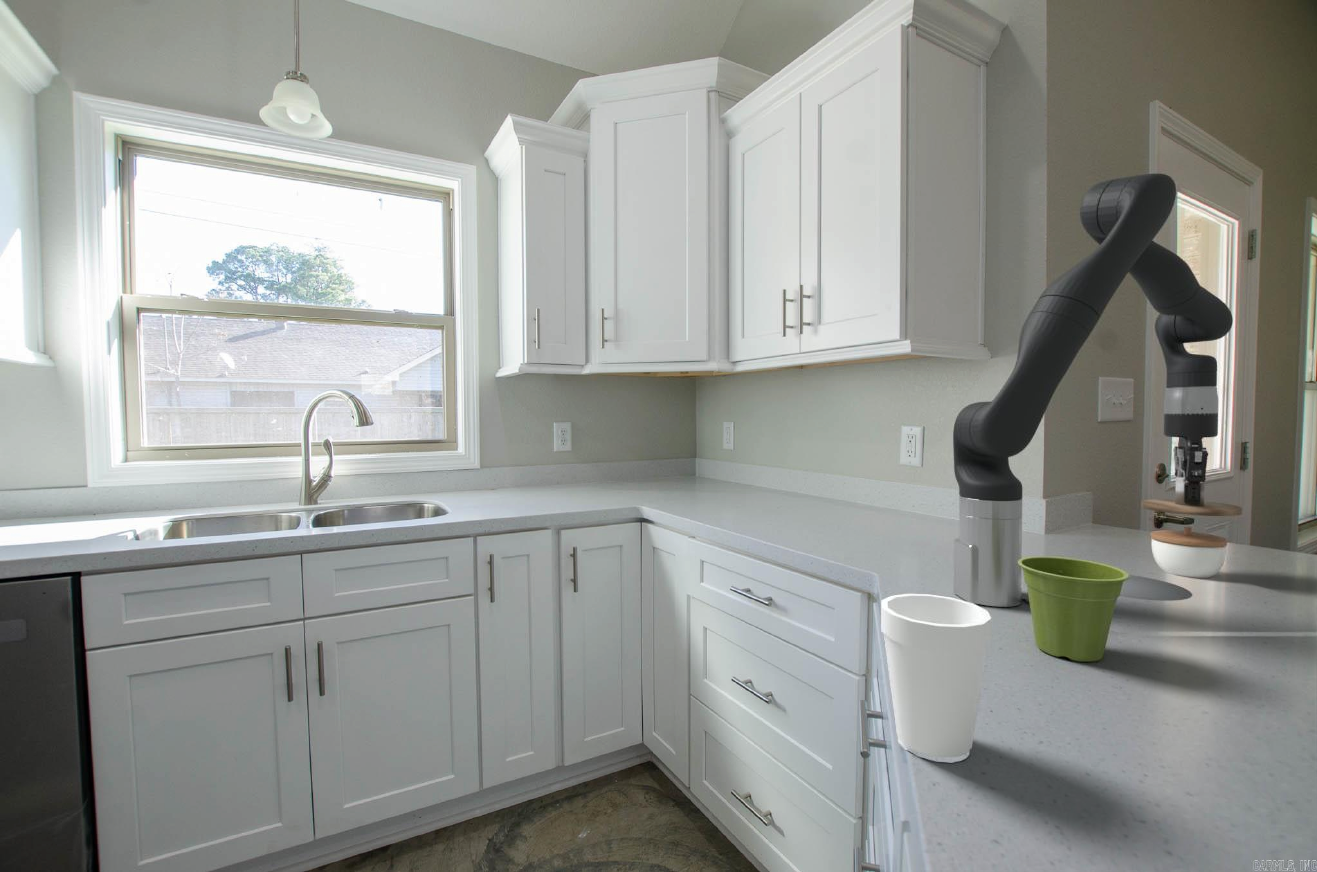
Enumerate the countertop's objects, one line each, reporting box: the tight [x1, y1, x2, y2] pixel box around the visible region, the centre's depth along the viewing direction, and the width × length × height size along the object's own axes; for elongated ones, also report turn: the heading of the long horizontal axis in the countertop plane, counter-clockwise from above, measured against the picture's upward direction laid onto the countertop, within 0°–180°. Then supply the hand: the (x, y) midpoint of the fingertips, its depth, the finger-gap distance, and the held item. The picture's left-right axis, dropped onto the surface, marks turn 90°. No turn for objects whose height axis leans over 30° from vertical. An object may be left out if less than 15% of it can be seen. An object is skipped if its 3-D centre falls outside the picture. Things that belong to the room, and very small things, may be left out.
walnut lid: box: [1140, 476, 1243, 517], centre depth 110 cm, size 14×14×6 cm
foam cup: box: [880, 593, 992, 757], centre depth 55 cm, size 10×9×13 cm
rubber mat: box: [1119, 574, 1193, 602], centre depth 103 cm, size 17×17×1 cm
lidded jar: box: [1150, 526, 1228, 579], centre depth 111 cm, size 11×11×9 cm
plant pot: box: [1018, 556, 1130, 663], centre depth 76 cm, size 12×12×11 cm
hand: (1189, 502), depth 110 cm, fingers closed on walnut lid, 4 cm apart
